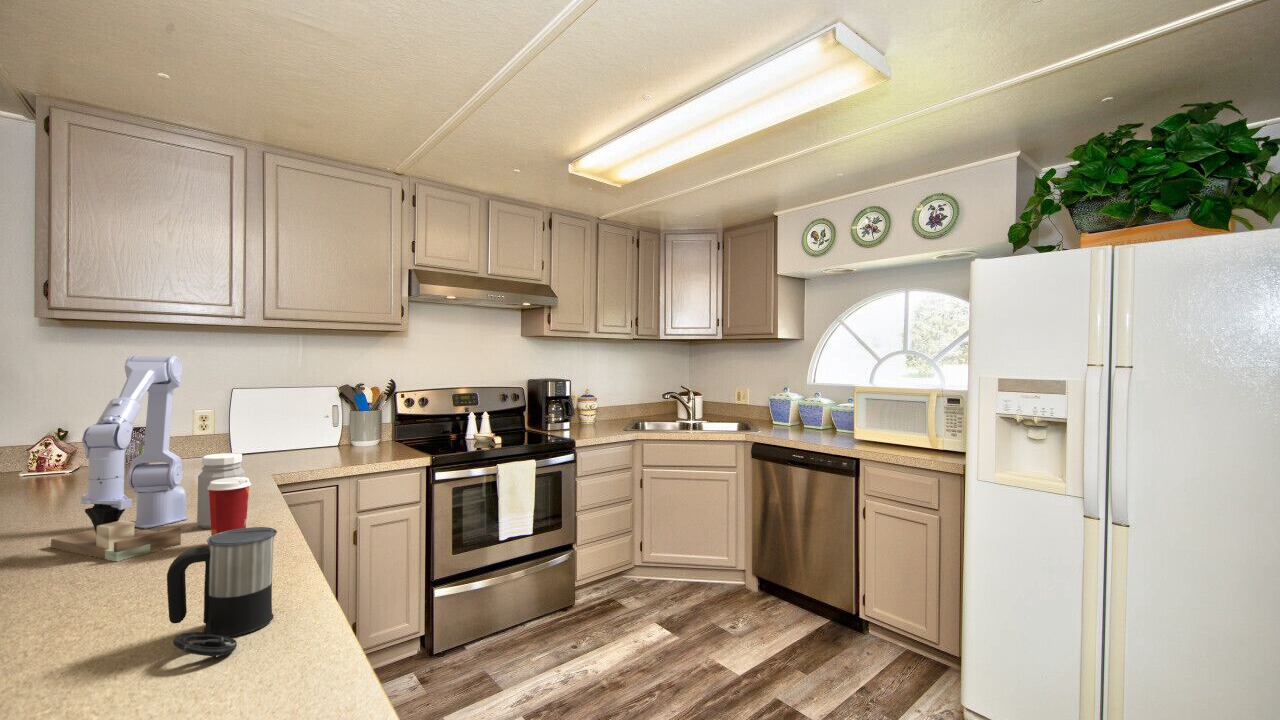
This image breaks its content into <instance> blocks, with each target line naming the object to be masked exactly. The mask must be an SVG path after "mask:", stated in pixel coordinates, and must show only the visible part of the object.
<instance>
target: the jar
mask: <svg viewBox="0 0 1280 720" xmlns="http://www.w3.org/2000/svg"><path fill="white" fill-rule="evenodd" d="M242 461H243V453H238V452H225V453H223V452H221V453H213V454H207V455H204V456H203V457H201V465H203V467H201V470H202V471H201V472H200V473H199V475H198V476H197V503H196V505H197V512H196V523H197V524H198V525H199V527H200V528H202V529H208V530H209V529H210V530H211V520H210V501H209V490H208V489H207V488H208V487H209V484H210V482H211V481H214V480H217V479H223V478H232V477H246V471H245V470H244V469H243V468H242V466H243V464H241V462H242ZM197 524H196V525H197Z"/></svg>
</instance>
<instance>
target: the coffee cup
mask: <svg viewBox="0 0 1280 720" xmlns="http://www.w3.org/2000/svg"><path fill="white" fill-rule="evenodd" d="M251 485H252V483H251V482H250V479H249V477H246V476H245V477H232V478H223V479H217V480H214V481H211V482H210V484H209V487H208V488H207V489H208V490H209V501H210V520H211V529H210V533H211V535H210V536H212V535H215V534H217V533H221V532H225V531H229V530H235V529H241V528H247V518H248V509H249V508H248V506H249V495H250V486H251Z"/></svg>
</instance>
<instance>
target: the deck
mask: <svg viewBox="0 0 1280 720" xmlns="http://www.w3.org/2000/svg"><path fill="white" fill-rule="evenodd" d="M181 534H182V528H181V526H175V527H171V528H168V529H167V528H166V529H163V530H159V531H156V530H150V529H145V528H144V529H141V530H137V531H134V538H130V539H126V540H122V541H118V542H114V548H111V549H106V548H101V547H97V546H96V537H97V535H96V532H95V529H94V528H93V529H89V530H85V531H81V532H76V533H72V534H67V535H63V536H62V535H61V536H58V537H53V538H51V539H50V548H51V549H54V548H56V549H55V550H59V549H61V550H60V551H64V550H66V551H65V552H68V551H70V552H69V553H73V552H75V553H74V554H78V553H79V554H78V555H82V554H84V556H87V555H88V557H91V556H94V557H93V558H96V557H98V558H97V559H101V558H103V559H102V560H105V559H108V560H107V561H110V560H113V561H112V562H115V561H118V562H121V561H120V560H122V561H124V560H123V559H125V560H128V559H127V558H129V559H131V557H133V558H135V557H134V556H136V557H140V556H143V555H142V554H144V555H146V554H145V553H147V554H150V553H149V552H151V553H154V552H157V551H156V550H158V551H161V550H160V549H162V550H164V549H163V548H165V549H169V548H172V547H171V546H173V547H176V546H180V545H181V544H182V542H181V541H182V539H181V538H182V535H181ZM168 547H169V548H168ZM153 551H154V552H153ZM139 555H140V556H139Z"/></svg>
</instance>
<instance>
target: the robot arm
mask: <svg viewBox="0 0 1280 720" xmlns="http://www.w3.org/2000/svg"><path fill="white" fill-rule="evenodd" d="M124 372H125V377H126V380H125V382H124V385H123V387H122V389H121V392H120V393H119V396H118V397H117V398H112V399H111V400H110V401H109V402H108V403H107V405H106V407H105V409H104V410H103V412H102V414H101V416H100V417H99V418H98V420H97V422H96V423H93V424H92V425H90V426H88V427H86V429H85V430H84V432H83V435H82V438H81V443H82V446H83V448H84V454H85V458H87V459H88V474H87V475H88V477H87V478H88V480H87V482H88V483H87V487H88V488H87V493H85V494H81V495H80V499H81V500H80V504H82V505H93V506H92V507H88V508H85V509H84V513H85V514H86V515H87V516H88V518H89V519H90V522H91V523H92V526H93V530H94V529H95V532H96V535H97V526H98V525H103V524H107V523H112V522H117V521H120V518H121V516H123V515H122V514H123V513H124V512H125V511H126V509H132V506H133V505H132V504H133V503H132V502H133V501H132V500H133V499H132V498H128V496H127V495H125V453H126V452H125V450H126V448H128V446H129V444H130V443H131V440H132V434H133V429H134V428H133V424H134V422H135V421H136V419H137V417H138V414H139V413H140V411H141V406H140V404H139V402H140V400H141V399H142V398H143V396H144V395H145V394H146V392H147V393H148V396H147V406H146V407H147V408H146V409H147V410H146V419H145V421H146V422H145V433H144V434H145V435H144V444H143V445H144V446H143V453H141V454H140V455H138V456H136V457H135V458H133V459H132V460H131V462H130V467H129V470H128V473H127V474H126V475H127V477H126V483H127V485H128V486H129V488H130V489H131V490H133V491H132V492H133V493H136V514H135V516H136V517H135V518H136V519H135V521H133V522H134V523H135V527H136V528H140V529H144V530H145V529H146V530H148V529H151V528H155V527H159V526H164V525H169V524H171V523H177V522H180V521H181V522H182V521H185V520H188V519H189V517H188V516H187V493H186V490H185V489H184V487H183V486H181V485H179V484H181V482H182V481H183V480H182V479H183V476H184V475H183V473H184V472H183V466H182V465H183V464H182V462H183V461H182V458H181V457H180V456H179V455H177V454H176V453H173V452H172V451H170V440H171V439H170V438H171V427H172V426H171V424H172V415H173V414H172V412H173V411H172V410H173V400H174V399H173V396H174V389H177V388H179V387H181V382H182V376H183V375H182V373H183V364H182V362H181V359H180V358H179V357H178V356H176V355H138V354H137V355H136V354H132V355H129V357H128V358H127V359H126V360H125V364H124ZM151 463H152V464H151ZM153 463H154V464H153Z"/></svg>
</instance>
